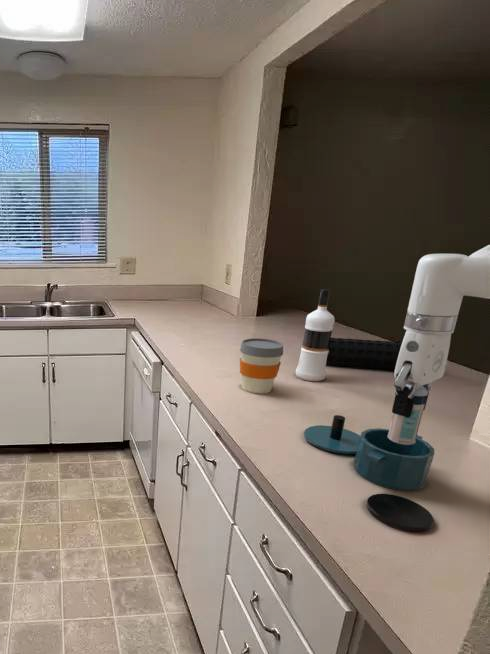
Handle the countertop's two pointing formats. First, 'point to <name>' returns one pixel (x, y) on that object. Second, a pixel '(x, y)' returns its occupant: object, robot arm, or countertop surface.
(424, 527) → the black plate
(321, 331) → the vodka
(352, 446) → the lid
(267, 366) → the reusable coffee cup
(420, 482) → the pot
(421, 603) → the countertop surface
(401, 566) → the countertop surface
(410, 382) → the robot arm
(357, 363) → the roller
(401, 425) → the beer can
